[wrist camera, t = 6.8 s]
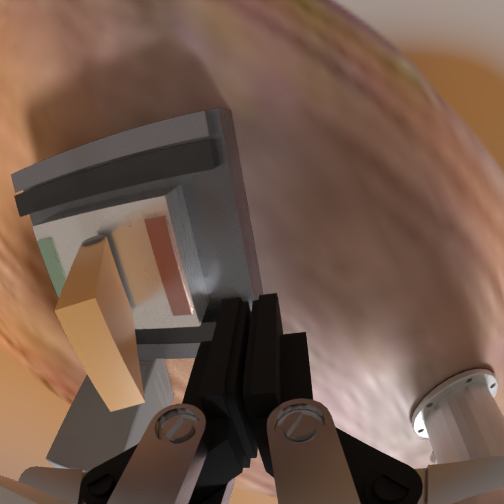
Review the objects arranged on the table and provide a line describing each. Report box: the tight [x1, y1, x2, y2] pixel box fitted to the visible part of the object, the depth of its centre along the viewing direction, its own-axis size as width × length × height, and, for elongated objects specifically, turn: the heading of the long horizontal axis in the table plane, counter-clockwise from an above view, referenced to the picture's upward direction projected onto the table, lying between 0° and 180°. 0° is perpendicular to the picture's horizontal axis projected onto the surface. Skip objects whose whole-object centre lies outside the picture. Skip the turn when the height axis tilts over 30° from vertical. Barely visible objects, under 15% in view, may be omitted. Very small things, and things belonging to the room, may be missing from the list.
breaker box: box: [11, 108, 263, 359], centre depth 22 cm, size 16×16×8 cm
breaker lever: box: [54, 235, 145, 412], centre depth 14 cm, size 5×2×8 cm, turn 10°
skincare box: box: [46, 359, 174, 472], centre depth 25 cm, size 8×7×16 cm
